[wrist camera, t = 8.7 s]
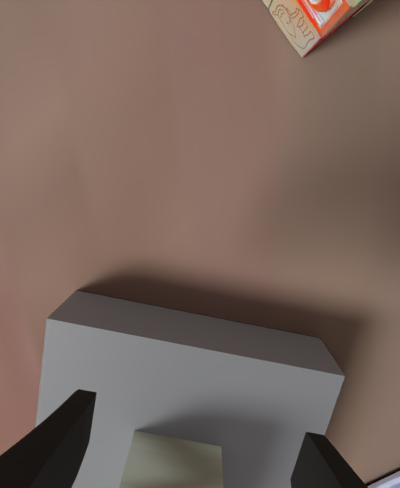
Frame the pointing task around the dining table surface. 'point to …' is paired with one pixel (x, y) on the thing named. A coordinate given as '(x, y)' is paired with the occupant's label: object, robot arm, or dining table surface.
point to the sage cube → (171, 463)
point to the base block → (187, 386)
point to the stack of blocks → (312, 19)
